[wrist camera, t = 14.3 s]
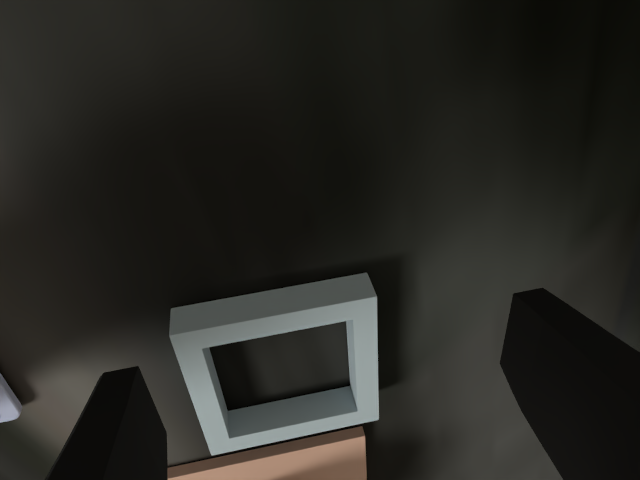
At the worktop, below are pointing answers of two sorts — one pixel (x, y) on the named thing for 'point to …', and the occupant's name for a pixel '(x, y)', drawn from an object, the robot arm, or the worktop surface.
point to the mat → (287, 461)
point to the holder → (269, 319)
